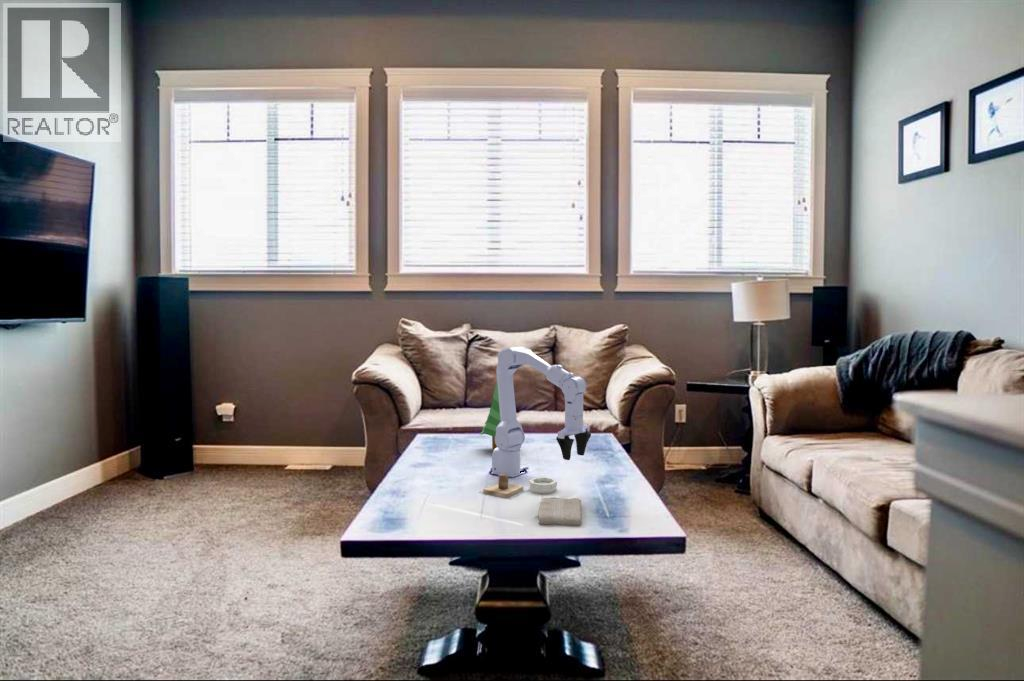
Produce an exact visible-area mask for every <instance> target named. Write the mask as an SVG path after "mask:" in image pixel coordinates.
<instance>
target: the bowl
mask: <svg viewBox="0 0 1024 681" xmlns="http://www.w3.org/2000/svg"><path fill="white" fill-rule="evenodd" d="M528 484H529V491H531V492H532V493H537V494H550V493H554V492H556V491H557V488H558V487H557V486H558V480H557V479H556V478H553V477H549V476H548V477H547V476H540V477H539V476H536V477H532V478H531V479H529V481H528Z"/></svg>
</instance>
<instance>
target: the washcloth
mask: <svg viewBox="0 0 1024 681" xmlns="http://www.w3.org/2000/svg"><path fill="white" fill-rule="evenodd" d="M538 509H539V510H538V524H541V525H562V526H580V525H582V523H583V521H582V500H581V499H580V498H577V497H575V498H574V497H573V498H561V497H542V498H541V500H540V501H539V508H538Z"/></svg>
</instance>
